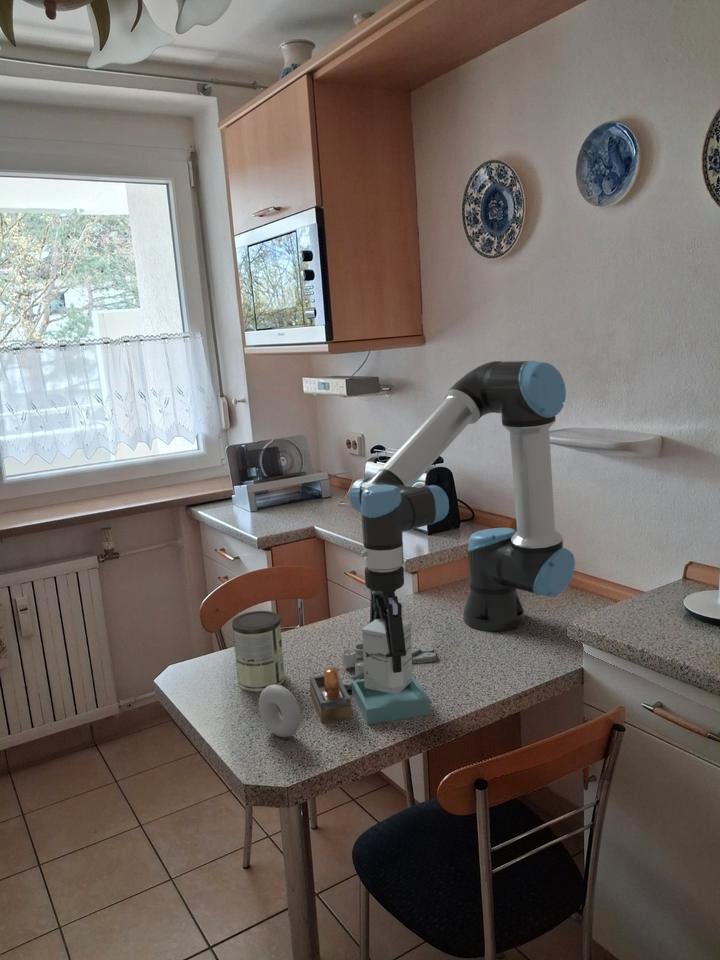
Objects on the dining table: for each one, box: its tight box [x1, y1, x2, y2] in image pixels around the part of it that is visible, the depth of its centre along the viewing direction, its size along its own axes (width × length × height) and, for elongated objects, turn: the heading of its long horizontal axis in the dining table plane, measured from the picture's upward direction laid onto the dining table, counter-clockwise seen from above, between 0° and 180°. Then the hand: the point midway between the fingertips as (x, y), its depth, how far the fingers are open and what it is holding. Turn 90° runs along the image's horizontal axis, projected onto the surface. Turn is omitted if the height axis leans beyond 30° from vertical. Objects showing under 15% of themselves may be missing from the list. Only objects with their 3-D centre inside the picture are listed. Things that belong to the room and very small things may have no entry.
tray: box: [351, 674, 431, 726], centre depth 153 cm, size 13×13×3 cm
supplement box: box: [361, 618, 413, 695], centre depth 152 cm, size 7×7×13 cm
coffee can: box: [231, 610, 286, 693], centre depth 165 cm, size 10×10×14 cm
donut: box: [258, 684, 302, 738], centre depth 143 cm, size 10×3×10 cm, turn 48°
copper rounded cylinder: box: [322, 666, 343, 701], centre depth 150 cm, size 4×4×6 cm
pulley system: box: [341, 642, 437, 692], centre depth 171 cm, size 27×5×15 cm
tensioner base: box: [309, 674, 353, 724], centre depth 154 cm, size 6×12×4 cm, turn 14°
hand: (388, 674), depth 152 cm, fingers closed on supplement box, 10 cm apart
